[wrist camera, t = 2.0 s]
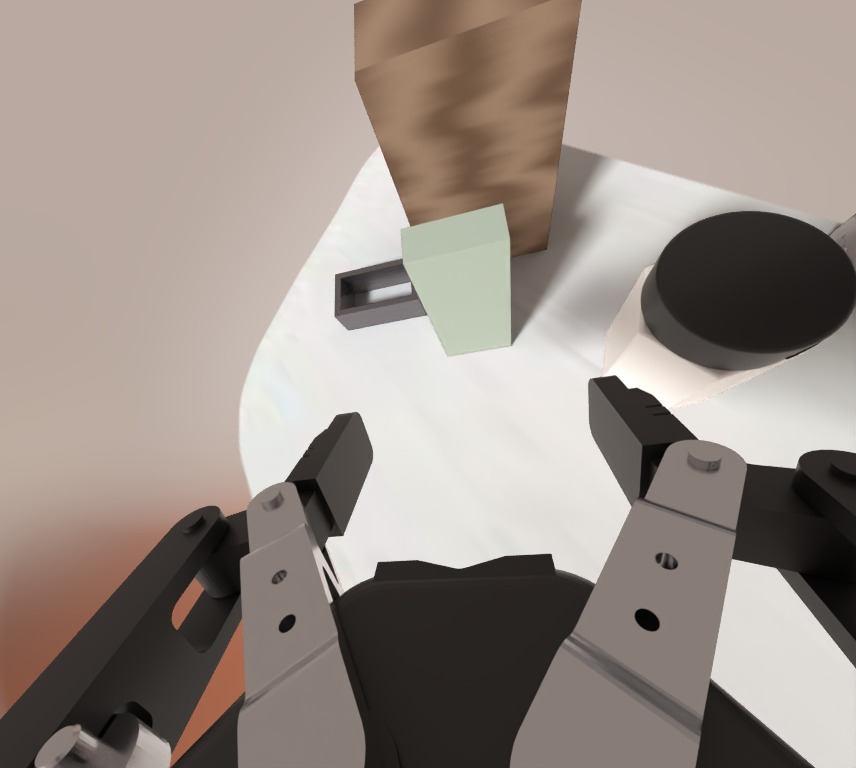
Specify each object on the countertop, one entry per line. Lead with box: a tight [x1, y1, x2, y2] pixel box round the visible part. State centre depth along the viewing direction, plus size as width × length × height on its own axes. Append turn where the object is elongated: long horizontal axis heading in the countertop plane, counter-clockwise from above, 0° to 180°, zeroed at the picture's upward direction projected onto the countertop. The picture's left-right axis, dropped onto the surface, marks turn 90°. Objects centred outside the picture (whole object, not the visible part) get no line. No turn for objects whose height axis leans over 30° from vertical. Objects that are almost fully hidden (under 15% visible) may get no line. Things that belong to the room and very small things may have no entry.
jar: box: [601, 211, 856, 411], centre depth 22 cm, size 9×8×12 cm
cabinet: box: [354, 0, 582, 257], centre depth 27 cm, size 12×8×18 cm, turn 95°
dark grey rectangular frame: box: [335, 259, 426, 330], centre depth 34 cm, size 9×5×3 cm, turn 95°
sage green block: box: [401, 203, 511, 357], centre depth 25 cm, size 6×4×14 cm, turn 95°
